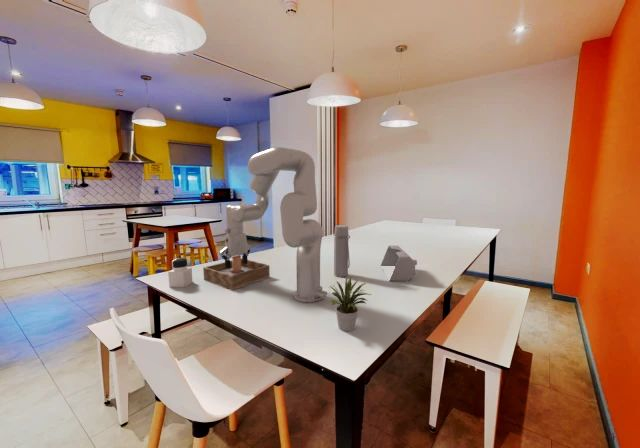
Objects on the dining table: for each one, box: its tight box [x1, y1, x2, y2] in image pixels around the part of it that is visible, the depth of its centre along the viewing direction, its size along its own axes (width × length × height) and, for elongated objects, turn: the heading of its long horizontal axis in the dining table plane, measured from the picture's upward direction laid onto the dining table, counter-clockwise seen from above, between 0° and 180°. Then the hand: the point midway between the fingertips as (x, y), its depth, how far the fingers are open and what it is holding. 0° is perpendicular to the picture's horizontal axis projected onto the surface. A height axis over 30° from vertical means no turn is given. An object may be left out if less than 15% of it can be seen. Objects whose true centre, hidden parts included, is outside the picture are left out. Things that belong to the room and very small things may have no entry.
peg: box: [231, 254, 242, 274], centre depth 137 cm, size 4×4×10 cm
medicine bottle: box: [167, 257, 193, 288], centre depth 128 cm, size 7×7×12 cm
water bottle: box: [333, 224, 351, 278], centre depth 140 cm, size 9×8×25 cm
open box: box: [202, 257, 270, 291], centre depth 137 cm, size 22×22×6 cm
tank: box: [380, 245, 418, 282], centre depth 144 cm, size 25×16×12 cm, turn 178°
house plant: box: [329, 277, 372, 332], centre depth 88 cm, size 14×14×16 cm
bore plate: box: [219, 266, 252, 276], centre depth 137 cm, size 14×14×2 cm
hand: (236, 265), depth 137 cm, fingers open, 9 cm apart
